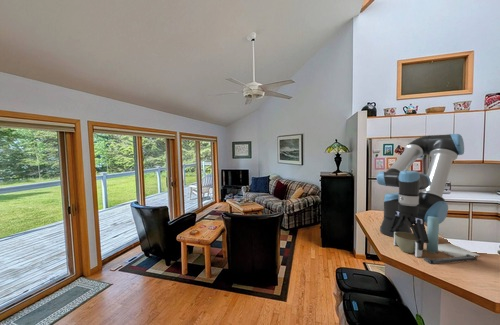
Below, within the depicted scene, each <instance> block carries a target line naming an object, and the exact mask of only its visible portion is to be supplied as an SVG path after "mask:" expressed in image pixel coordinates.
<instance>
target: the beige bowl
mask: <svg viewBox="0 0 500 325" xmlns="http://www.w3.org/2000/svg"><path fill="white" fill-rule="evenodd" d="M395 239H396V242H397V244H398V245H397V246H398V249H399V250H400V251H402V252H403V253H408V254H415V242H417V240H416V237H415V235H414V233H412V234H411V233H407V232H396V233H395ZM420 240H421V239H420Z"/></svg>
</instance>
